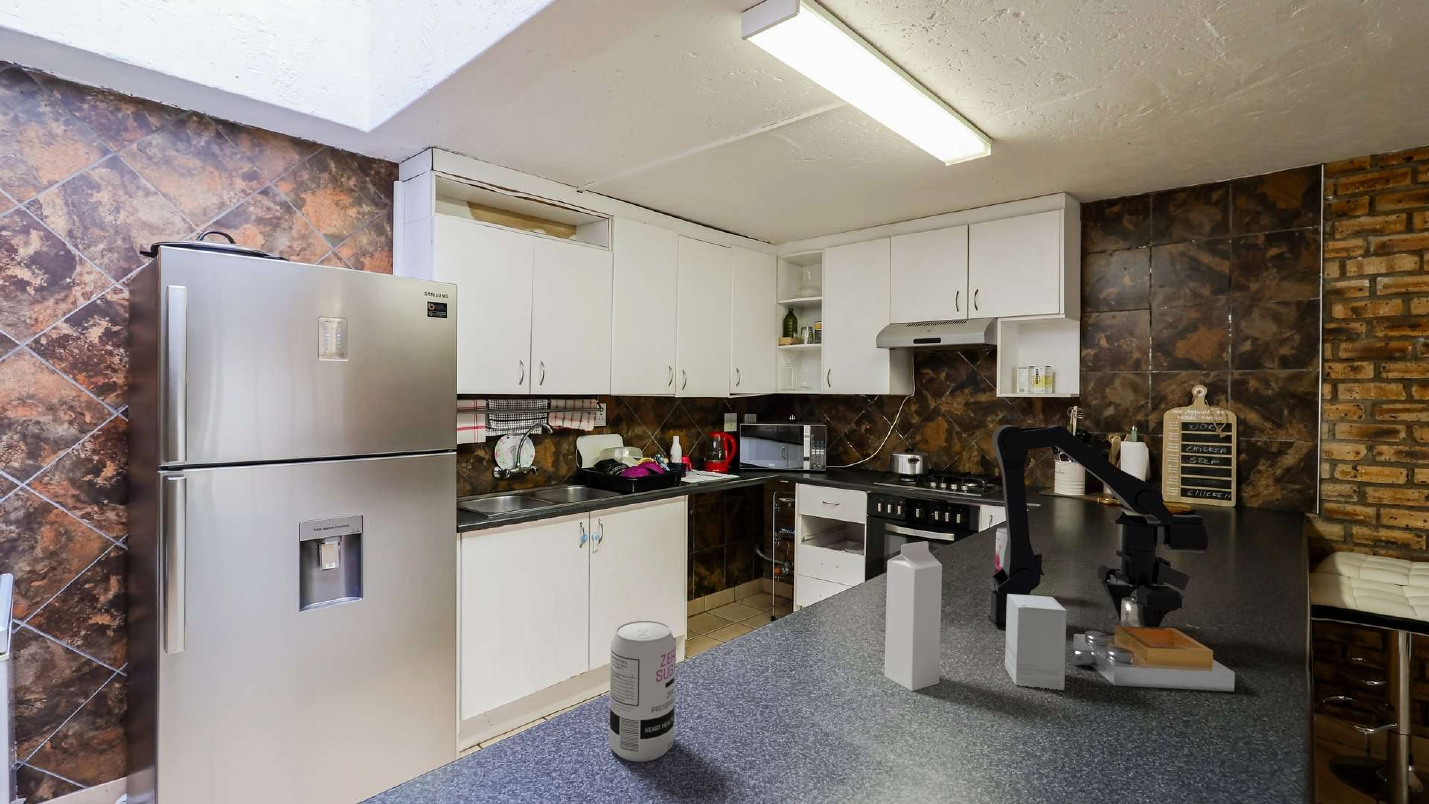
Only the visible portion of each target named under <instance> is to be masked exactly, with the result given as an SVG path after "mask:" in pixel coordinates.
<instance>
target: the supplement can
mask: <svg viewBox="0 0 1429 804" xmlns="http://www.w3.org/2000/svg"><path fill="white" fill-rule="evenodd" d="M676 646H677V641H676V639H675V637H674V635H673V633H672V629H671V627H670V626H669V625H668V624H666V623H664V622H660V621H656V620H634V621H633V620H632V621H629V622H626V623H623V624H620V625H619V626H618V627H617V628H616V630H615V634H614V635H613V637H612V639H611V641H610V657H609V658H610V660H609V661H610V663H609V664H610V667H609V670H610V671H609V673H610V674H609V720H608V721H609V729H608V732H609V733H608V735H609V736H608V738H609V739H608V743H609V748H610V749H611V750H612V751H613V752H614V753H615V754H616V755H617V756H618V757H619V758H622V759H623V760H626V761H631V762H636V763H637V762H650V761H654V760H657V759H658V758H660V757H662V756H664V755H665V754H666V753H667V752H668V751H669V750H670V749H671V748H672V747H673V745H674V741H675V711H676V709H675V707H676V706H675V705H676V704H675V703H676V702H675V700H676V698H675V697H676V650H677V649H676V648H677V647H676Z"/></svg>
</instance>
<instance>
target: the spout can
mask: <svg viewBox="0 0 1429 804" xmlns="http://www.w3.org/2000/svg"><path fill="white" fill-rule="evenodd" d="M1136 602H1139V601H1138V598H1137V595H1136V596H1133V595H1131V597H1124V598H1122V604H1121V621H1120V626H1134V627H1143V626H1142V622H1141V619H1140V615H1139V612H1138V608H1137V604H1136Z"/></svg>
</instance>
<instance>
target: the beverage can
mask: <svg viewBox="0 0 1429 804" xmlns="http://www.w3.org/2000/svg"><path fill="white" fill-rule="evenodd" d="M995 535H996V536H995V561H994V562H995V563H994V565H995V566H994V574H995V573H997V572H998V571H999V570H1000V569H1002V568H1003V563H1004V554H1005V549H1006V545H1007V527H998V528H997V529H996V532H995ZM995 590H996V588H995V587H994V590H993V591H995Z"/></svg>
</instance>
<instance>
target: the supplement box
mask: <svg viewBox="0 0 1429 804" xmlns="http://www.w3.org/2000/svg"><path fill="white" fill-rule="evenodd" d="M1067 612H1068V611H1067V609H1066V608H1064V607H1063V605H1061V604H1060V602H1058V600H1056V599H1055V598H1054V597H1053V596H1044V595H1032V594H1029V595H1015V594H1007V614H1006V629H1005V655H1004V668H1005V670H1006V672H1007V673H1008V675H1009V676H1010V678H1011V680H1012V681H1013V683H1014V684H1015V686H1018V685H1019V687H1026V686H1028V688H1035V687H1040V688H1039V689H1045V688H1047V689H1048V688H1049V689H1048V690H1056V689H1057V690H1058V691H1064V690H1065V681H1066V680H1065V678H1066V676H1065V675H1066V647H1067V645H1066V642H1067V641H1066V640H1067ZM1047 689H1046V690H1047ZM1057 690H1056V691H1057Z"/></svg>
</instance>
